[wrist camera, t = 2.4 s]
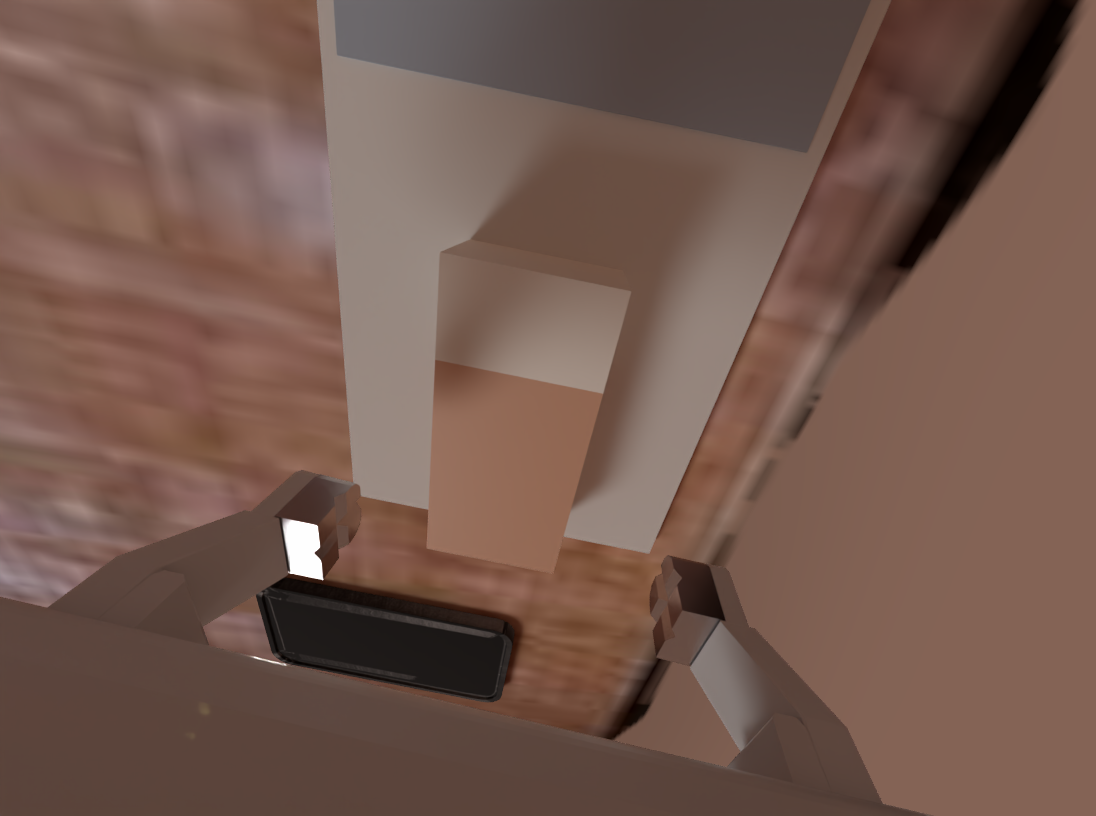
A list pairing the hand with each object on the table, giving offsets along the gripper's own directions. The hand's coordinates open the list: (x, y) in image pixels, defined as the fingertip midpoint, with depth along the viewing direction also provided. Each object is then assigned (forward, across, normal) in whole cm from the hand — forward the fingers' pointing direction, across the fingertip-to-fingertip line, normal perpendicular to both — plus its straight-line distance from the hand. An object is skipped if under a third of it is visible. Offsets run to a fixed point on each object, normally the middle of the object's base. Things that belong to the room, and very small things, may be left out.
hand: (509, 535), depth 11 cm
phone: (+7, +6, +18) cm, 20 cm away
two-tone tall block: (+6, +1, -1) cm, 6 cm away
